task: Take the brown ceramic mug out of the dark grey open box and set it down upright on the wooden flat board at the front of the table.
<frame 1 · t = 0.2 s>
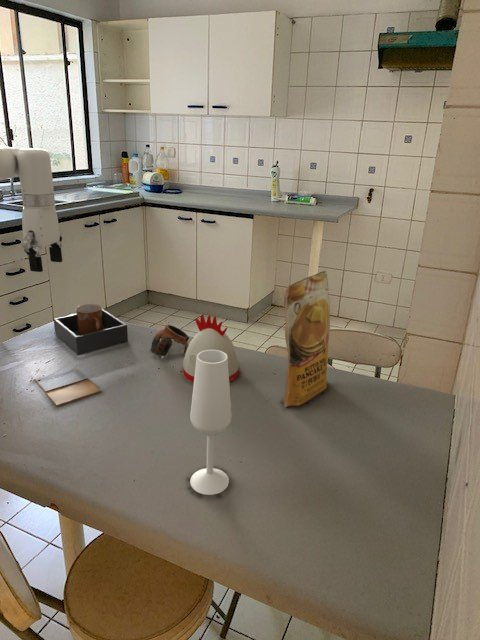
hand: (47, 266, 123), 21 cm above the table, tool pointing down, fingers open, 9 cm apart
kitchen timer: (210, 372, 116), on the table
pottery mug: (168, 353, 125), on the table
dark grey open box: (91, 340, 130), on the table
champagne flute: (209, 481, 80), on the table
brown mug: (91, 338, 129), point 1 cm above the table, touching dark grey open box
pancake mix bag: (302, 393, 108), on the table
wooden flat board: (67, 386, 107), on the table
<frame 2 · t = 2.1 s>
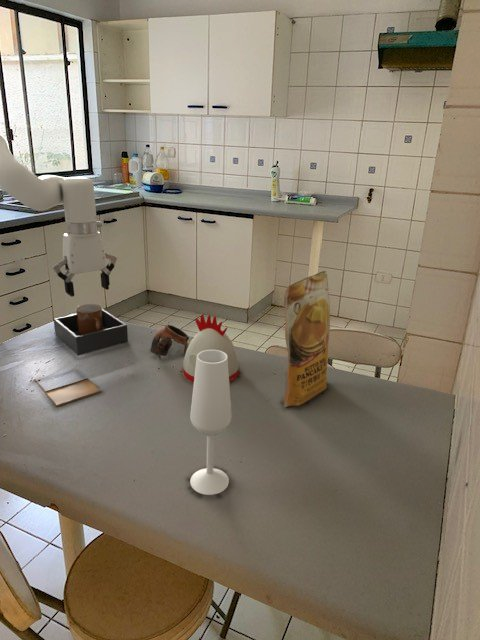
hand: (88, 291, 124), 15 cm above the table, tool pointing down, fingers open, 9 cm apart
nothing on the table moved.
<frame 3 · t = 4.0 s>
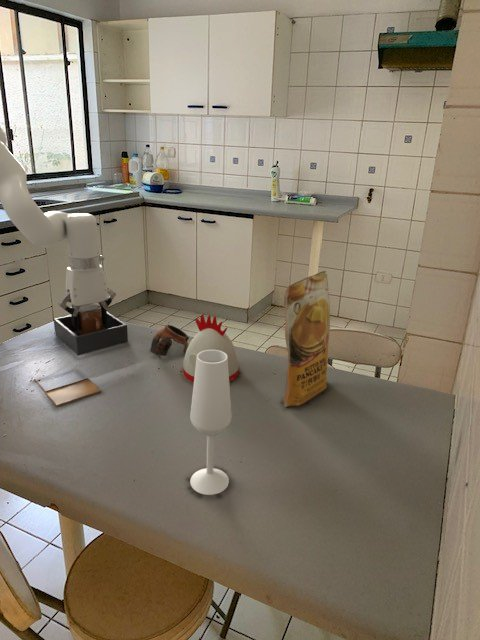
hand: (90, 324, 128), 5 cm above the table, tool pointing down, fingers closed on brown mug, 6 cm apart
brown mug: (91, 338, 129), point 1 cm above the table, touching gripper, dark grey open box
everything else where it was.
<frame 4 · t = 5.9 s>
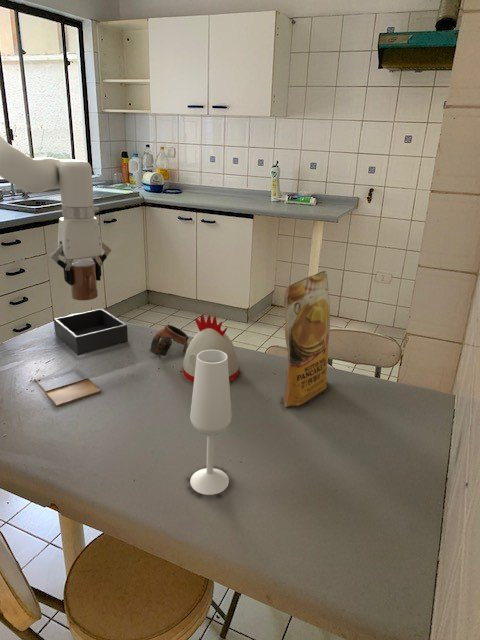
hand: (83, 281, 121), 18 cm above the table, tool pointing down, fingers closed on brown mug, 6 cm apart
brown mug: (84, 296, 123), point 14 cm above the table, touching gripper
everything else where it was.
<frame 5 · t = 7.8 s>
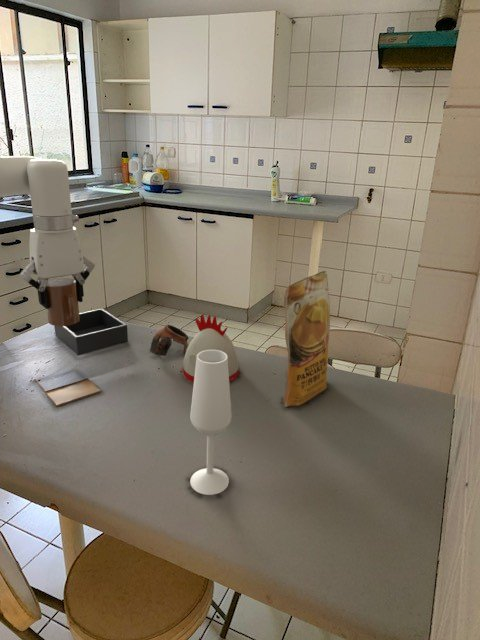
hand: (62, 302, 102), 19 cm above the table, tool pointing down, fingers closed on brown mug, 6 cm apart
brown mug: (64, 320, 104), point 15 cm above the table, touching gripper
everything else where it was.
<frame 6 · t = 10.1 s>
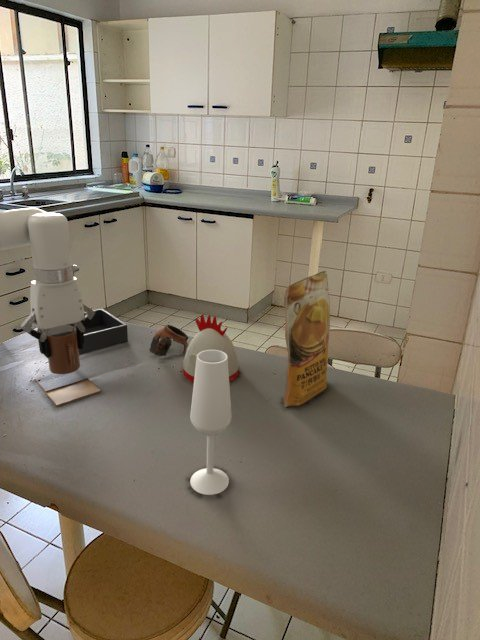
hand: (63, 350, 103), 9 cm above the table, tool pointing down, fingers closed on brown mug, 6 cm apart
brown mug: (65, 367, 105), point 5 cm above the table, touching gripper
everything else where it was.
when the fingers open (5 cm above the table, at t = 11.8 s): brown mug stays where it is, resting on wooden flat board.
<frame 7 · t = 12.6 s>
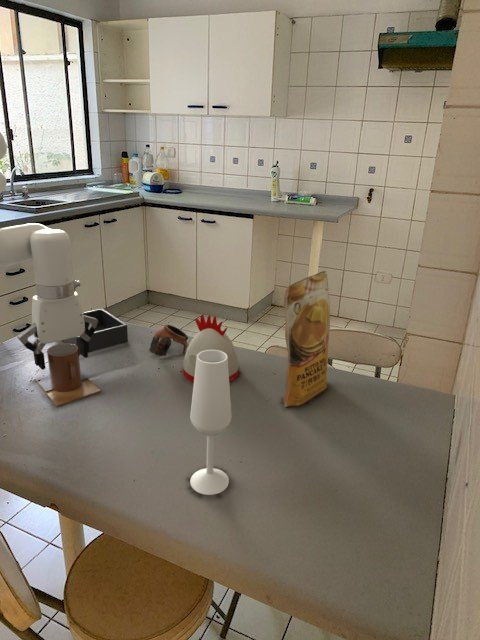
hand: (63, 361, 104), 6 cm above the table, tool pointing down, fingers open, 9 cm apart
brown mug: (66, 384, 106), resting on wooden flat board
everything else where it was.
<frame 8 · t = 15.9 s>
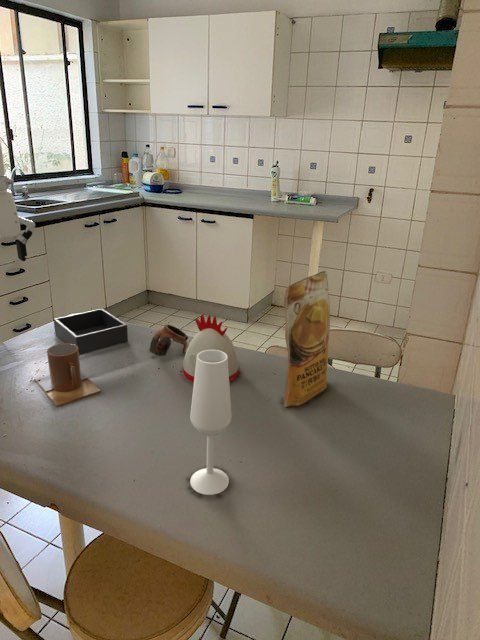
nothing on the table moved.
at the end: brown mug inside the target area on the wooden flat board (0.0 cm from its centre), point 0.5 cm above the wooden flat board's base; brown mug tilted 0°; brown mug touching wooden flat board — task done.
